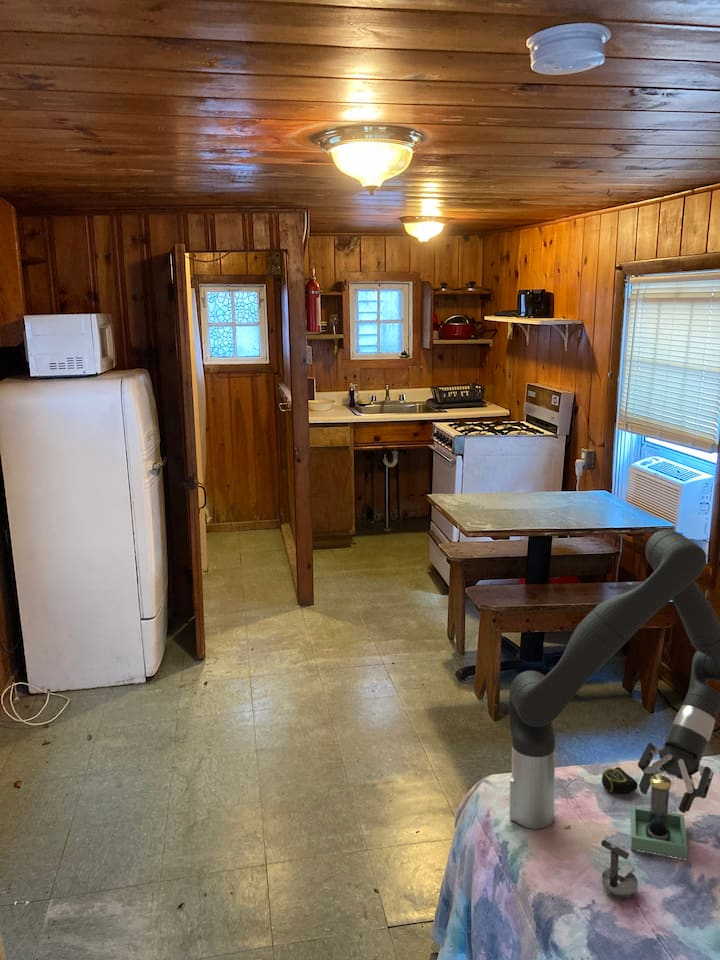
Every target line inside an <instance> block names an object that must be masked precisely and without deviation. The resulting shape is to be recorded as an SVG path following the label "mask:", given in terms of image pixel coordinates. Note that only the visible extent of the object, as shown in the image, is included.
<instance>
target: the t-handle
mask: <svg viewBox="0 0 720 960" xmlns="http://www.w3.org/2000/svg"><path fill="white" fill-rule="evenodd" d="M600 845H601V847H603V848H604V849H607V850H609V851H610V867H609V868H606V869H604V871H603V872H602V875H601V883H602V886H603V888H604V889H605V890H606V891H607V892H610V893H609V894H610V895H611V896H612V897H614V898H616V899H618V898H619V899H620V900H626V899H628V898H630V897H632V896H634V895H635V894H636V893H637V891H638V883H639V882H638V879H637V877H636V876H635V874H633V873H634V872H635V867H633V866H632V865H630V864H628V863H626V864H625V865H624V866H623V867H619V859H620V858H619V857H621V858H622V859H625V860H627V859H628V858H629V856H630V853H629V852H627V851H626V850H624V849H622V848H620V847H618V846H617V845H614V844H613V843H611V842H609V841H607V840H605V839H603V840H602V841H601V844H600ZM619 899H618V900H619Z"/></svg>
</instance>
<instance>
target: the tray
mask: <svg viewBox="0 0 720 960" xmlns="http://www.w3.org/2000/svg"><path fill="white" fill-rule="evenodd" d="M630 808H631V809H630V850H631V849H634V850H640V851H645V852H651V853H656V854H661V855H665V856H670V857H671V856H672V857H677V858H681V859H687V860H688V840H687V839H688V838H687V832H686V830H687V829H686V821H685V816H684V815H685V814H681V813H680V814H679V813H673V812H669V811H668V818H667V828H668V829H669V831H670V840H669V841H664V840H659V839H653V838H648V837H647V836H646V826H647V825H649V824H650V809H649V808H644V807H639V806H631V807H630Z"/></svg>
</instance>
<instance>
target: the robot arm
mask: <svg viewBox="0 0 720 960" xmlns="http://www.w3.org/2000/svg"><path fill="white" fill-rule="evenodd" d="M644 550H645V551H644V552H645V558H646V560H647V562H648V563H649V565H650V566H651V569H653V570H654V571H653V572H652V573H651V574H650V576H649V577H647V579H646V578H645V580H644V581H643V582H642V583H641V584H639V585H638V586H636V587H634V588H632V589H631V590H628V591H626V592H623V593H621V594H618V595H614V596H612V597H610V598H608V599H605V600H604V601H602V602H600V603H599V604H598V605H596V607H593V610H591V611H590V612H589V613H588V614H587V615H586V616H585V617H584V618H583V619H582V620H581V622H579V624H578V625H576V628H575V629H574V631H573V632H572V634H571V636H570V638H569V641H568V642H567V645H566V647H565V650H564V652H563V654H562V655H561V657H560V659H559V661H558V662H557V663H556V665H554V667H552V668H551V670H550V671H549V672H547V674H546V675H544V674H543V673H541V672H540V671H537V670H527V671H526V670H525V671H523V672H520V673H519V674H517V675H516V676H515V677H514V679H513V680H512V682H511V685H510V687H509V696H508V697H509V698H508V699H509V702H508V703H509V709H508V710H509V728H510V729H509V730H510V733H511V776H510V781H509V820H510V821H513V822H515V823H517V824H518V825H520V826H522V827H525V828H529V829H534V830H535V829H536V830H538V829H544V828H546V827H549V826H550V825H551V824H552V823H553V822H554V819H555V818H554V817H555V816H554V814H555V769H556V766H555V765H556V735H555V731H554V727H553V721H554V720H555V719H556V718H557V717H559V716H560V714H561V713H562V712H563V711H564V710H565V708H566V707H567V705H568V704H569V703H570V702H571V700H572V699H573V698H574V697H575V696H576V694H577V693H578V692H579V691H580V690H581V688H582V687H583V686H584V685H585V684H586V683H587V682H588V681H589V680H590V679H591V678H592V677H593V676H594V675H595V674H596V673H597V672H598V671H599V670H600V669H601V667H603V666H604V665H605V663H607V662H608V661H609V660H610V659H611V658H612V657H613V656H614V655H615V654H616V653H617V652H618V651H619V650H620V649H621V648H622V647H623V646H624V645H625V644H626V643H627V642H628V641H629V640H630V639H631V638H632V637H633V636H634V635H635V633H637V632H638V631H639V630H640V629H641V628H642V627H643V626H644V625H645V624H646V623H648V621H649V620H651V618H653V616H655V614H657V613H658V612H659V611H660V610H661V609H662V608H663V607H664V606H666V605H667V604H668V603H670V602H671V601H672V602H673V604H674V606H675V610H677V613H678V615H679V618H680V619H681V623H682V624H683V627H684V630H685V632H686V634H687V636H688V640H689V641H690V644H691V645H692V647H693V648H694V649H695V650H696V651H695V653H694V655H693V657H692V661H691V672H690V673H691V674H690V681H689V687H688V692H687V693H686V695H685V699H684V700H683V703H682V705H681V708H680V709H679V710H678V712H677V714H676V716H675V718H674V721H673V723H672V724H671V728H670V730H669V732H668V735H667V736H666V737H667V738H666V740H665V742H664V745H663V747H661V748H659V747H657V746H656V745H654V744H653V742H648V743H647V744H646V747H645V749H644V751H643V753H642V755H641V757H640V759H639V761H638V763H637V767H638V768H639V769H640V770H641V771H642V772H643V775H642V778H641V779H640V782H639V784H638V788H639V791H640V793H642V794H643V795H647V794H648V791H649V790H650V787H651V784H650V778H651V776H653V775H662V774H663V773H666V774H667V775H669V776H674V777H675V778H677V779H679V780H680V781H682V780H683V782H684V785H685V788H686V791H684V794H683V796H682V799H681V801H680V803H679V805H678V810H679V812H680V813H683V814H686V812H689V811H690V809H691V807H692V804H693V802H694V800H695V798H702V799H706V798H707V795H708V794H709V793H708V792H709V789H710V786H711V783H712V779H713V778H714V772H713V770H712V768H710V767H709V766H703V765H701V760H702V759H703V756H704V753H705V751H706V748H707V747H708V744H709V742H710V740H711V738H712V734H713V731H714V727H715V723H716V720H717V717H718V716H719V714H720V713H719V712H720V692H719V691H717V690H716V689H714V688H712V687H711V686H709V681H710V680H711V681H715V682H718V683H720V621H719V618H718V616H717V614H716V612H715V610H714V608H713V606H712V605H711V604H710V602H709V601H708V599H707V597H706V596H705V594H704V593H703V592H702V590H701V588H699V585H698V584H697V583H696V580H697V579H698V578H699V577H700V576H701V575H702V574H703V572H704V569H705V568H706V564H707V562H708V561H707V559H708V558H707V555H706V554H707V553H706V552H705V550H704V549H703V548H702V547H701V546H700V545H698V544H697V543H695V542H694V541H692V540H691V539H689V538H688V537H686V536H685V535H683V534H681V533H680V532H678V531H675V530H672V529H662V530H659V531H656V532H655V533H654V534H652V535H651V536H650V537H649V539H648V541H647V542H646V545H645V549H644ZM658 755H659V758H660V759H659V760H658V759H657V760H656V761H654V762H653V763H652V764H651V762H652V760H653V758H655V757H656V756H658ZM650 764H651V765H650ZM698 772H699V776H700V780H699V783H698V786H697V788H696V787H695V782H694V779H693V775H695V774H696V773H698Z"/></svg>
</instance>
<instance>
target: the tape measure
mask: <svg viewBox="0 0 720 960" xmlns="http://www.w3.org/2000/svg"><path fill="white" fill-rule="evenodd" d="M601 784H602V786H603V787H604V788H603V789H605V790H606V791H607V792H609V793H611V794H613V795H618V796H623V795H624V796H626V795H627V794H628V795H629V793H632V792H636V791H637V790H638V788H639V784H638V782H637V781H636V780H635V779H634V778H633V777H632V776H630V775H629V774H628V773H626V772H625V770H623V768H621V767H619V766H617V767H614V768H607V769H606V770H604V772H603V773H602V777H601Z"/></svg>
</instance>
